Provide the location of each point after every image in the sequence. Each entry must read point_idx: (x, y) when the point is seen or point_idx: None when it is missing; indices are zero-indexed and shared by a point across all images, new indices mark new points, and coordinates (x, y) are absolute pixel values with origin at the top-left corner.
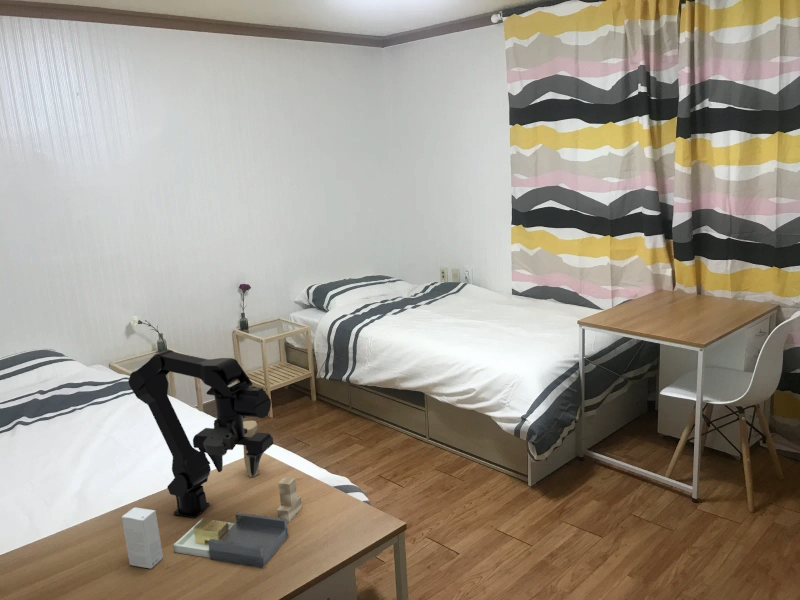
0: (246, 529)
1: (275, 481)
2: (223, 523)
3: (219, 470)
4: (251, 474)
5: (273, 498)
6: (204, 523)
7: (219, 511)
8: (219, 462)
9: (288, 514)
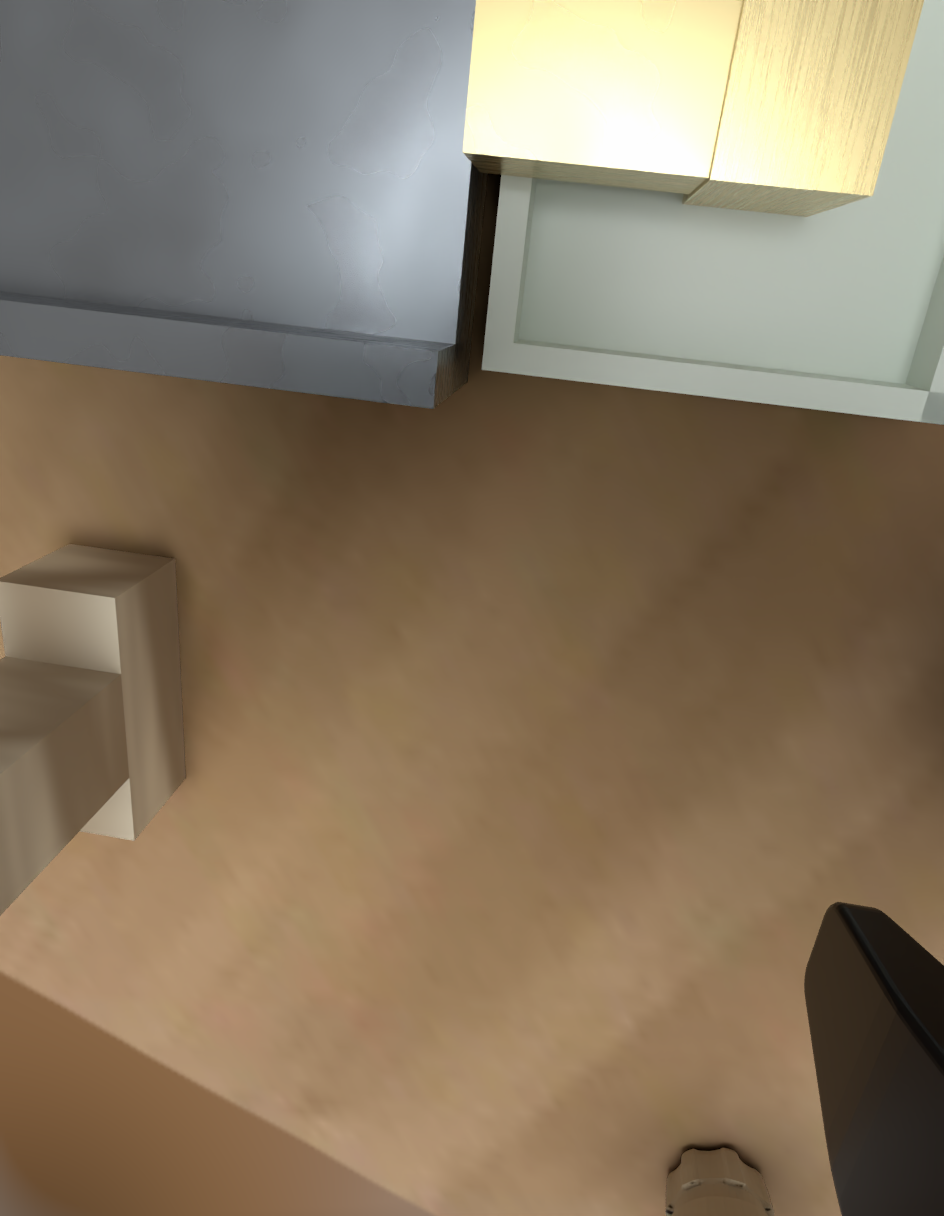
0: (258, 203)
1: (484, 1084)
2: (512, 116)
3: (849, 935)
4: (715, 1170)
5: (386, 872)
6: (806, 42)
7: (818, 671)
8: (928, 1210)
9: (20, 569)
